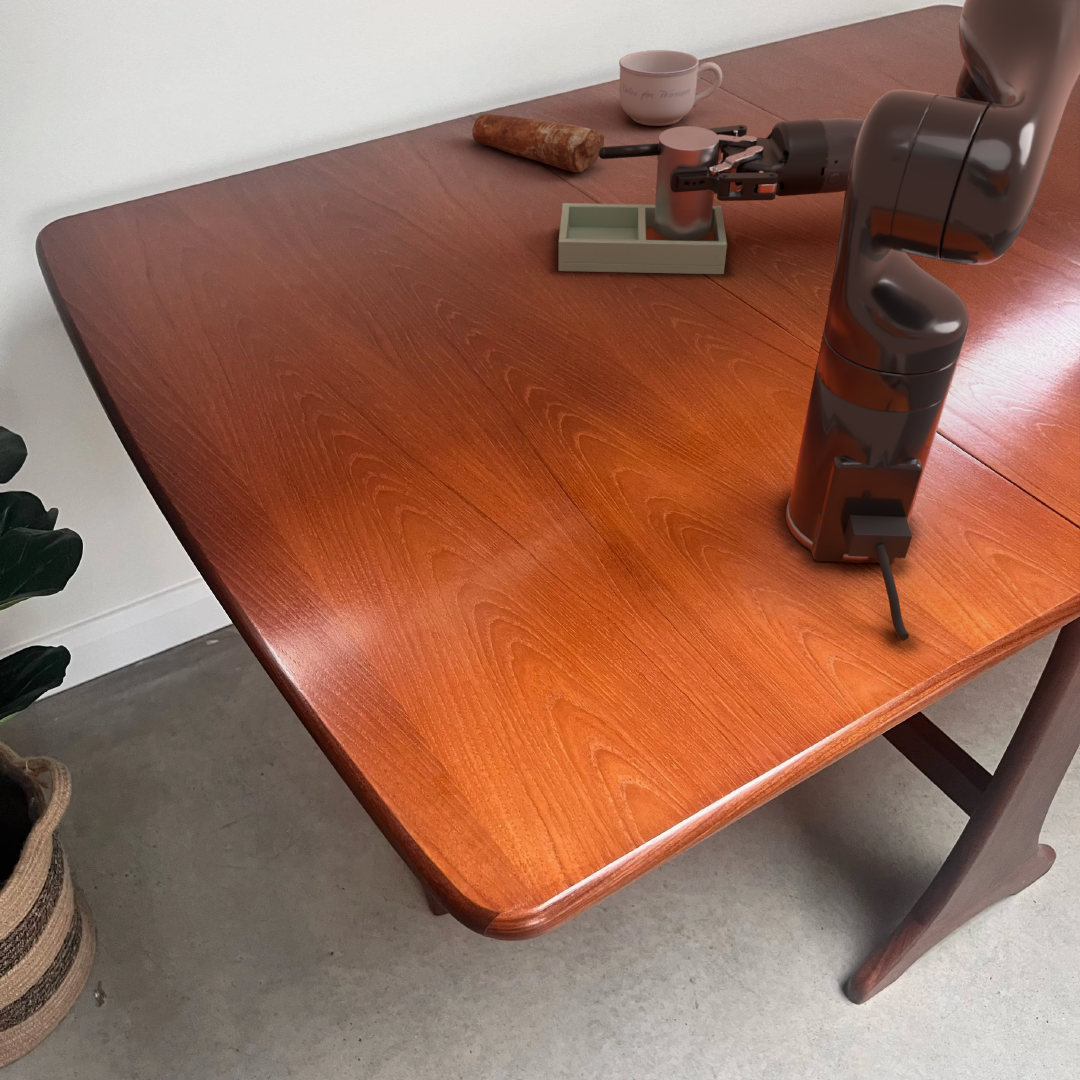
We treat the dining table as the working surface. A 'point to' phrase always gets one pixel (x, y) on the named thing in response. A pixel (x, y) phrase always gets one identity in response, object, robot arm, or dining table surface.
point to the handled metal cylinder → (675, 150)
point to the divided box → (634, 242)
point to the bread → (540, 140)
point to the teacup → (662, 85)
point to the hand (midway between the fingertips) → (665, 167)
